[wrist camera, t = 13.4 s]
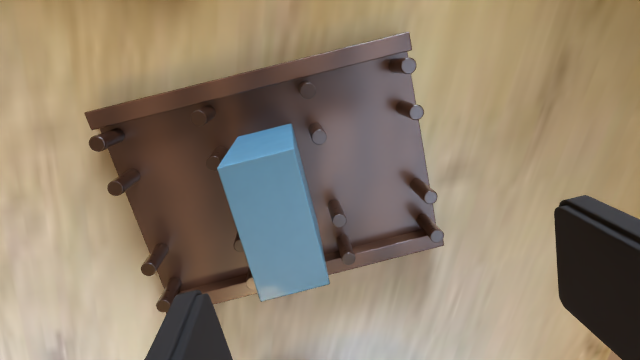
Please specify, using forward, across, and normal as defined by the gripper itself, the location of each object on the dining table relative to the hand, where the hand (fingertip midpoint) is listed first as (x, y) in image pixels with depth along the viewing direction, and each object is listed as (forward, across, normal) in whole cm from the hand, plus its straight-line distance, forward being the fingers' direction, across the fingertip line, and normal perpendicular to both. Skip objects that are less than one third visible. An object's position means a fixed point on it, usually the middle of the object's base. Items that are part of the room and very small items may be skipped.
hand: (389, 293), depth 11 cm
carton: (+20, +4, +2) cm, 20 cm away
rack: (+21, +4, +2) cm, 21 cm away
